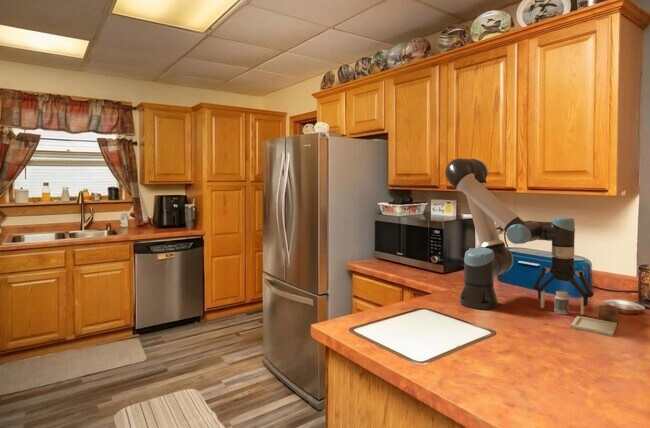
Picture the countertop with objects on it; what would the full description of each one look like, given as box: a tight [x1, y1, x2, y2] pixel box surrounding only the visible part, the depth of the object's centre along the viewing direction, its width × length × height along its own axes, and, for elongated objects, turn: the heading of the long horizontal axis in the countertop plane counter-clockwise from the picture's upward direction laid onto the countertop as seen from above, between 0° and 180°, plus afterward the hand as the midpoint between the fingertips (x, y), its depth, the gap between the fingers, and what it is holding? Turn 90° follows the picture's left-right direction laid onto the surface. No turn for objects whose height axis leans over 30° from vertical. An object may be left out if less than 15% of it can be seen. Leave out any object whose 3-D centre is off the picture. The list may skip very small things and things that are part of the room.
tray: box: [570, 315, 618, 337], centre depth 137 cm, size 12×12×1 cm
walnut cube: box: [598, 304, 620, 325], centre depth 143 cm, size 5×5×5 cm
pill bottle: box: [553, 290, 570, 315], centre depth 152 cm, size 5×5×8 cm
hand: (561, 310), depth 152 cm, fingers open, 13 cm apart
